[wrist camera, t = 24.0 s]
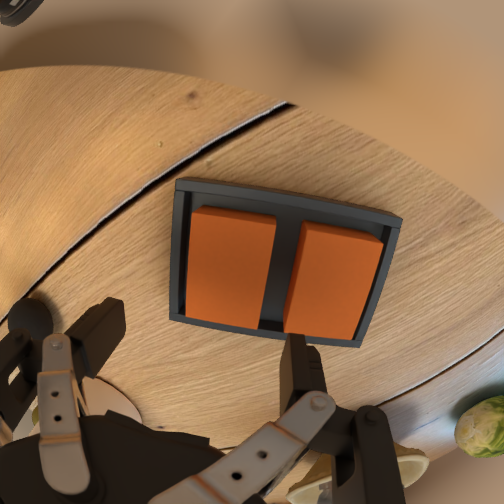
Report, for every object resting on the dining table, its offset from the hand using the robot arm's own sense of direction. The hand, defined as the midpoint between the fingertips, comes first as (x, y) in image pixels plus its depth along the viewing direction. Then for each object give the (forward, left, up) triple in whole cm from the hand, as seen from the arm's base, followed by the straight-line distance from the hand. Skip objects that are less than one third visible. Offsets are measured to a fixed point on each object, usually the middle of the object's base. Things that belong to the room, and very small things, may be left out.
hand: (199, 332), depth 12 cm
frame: (0, +4, -11) cm, 11 cm away
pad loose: (0, 0, -10) cm, 10 cm away
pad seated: (0, +8, -10) cm, 12 cm away
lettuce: (+20, +44, -11) cm, 49 cm away
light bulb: (+13, -23, -11) cm, 29 cm away
